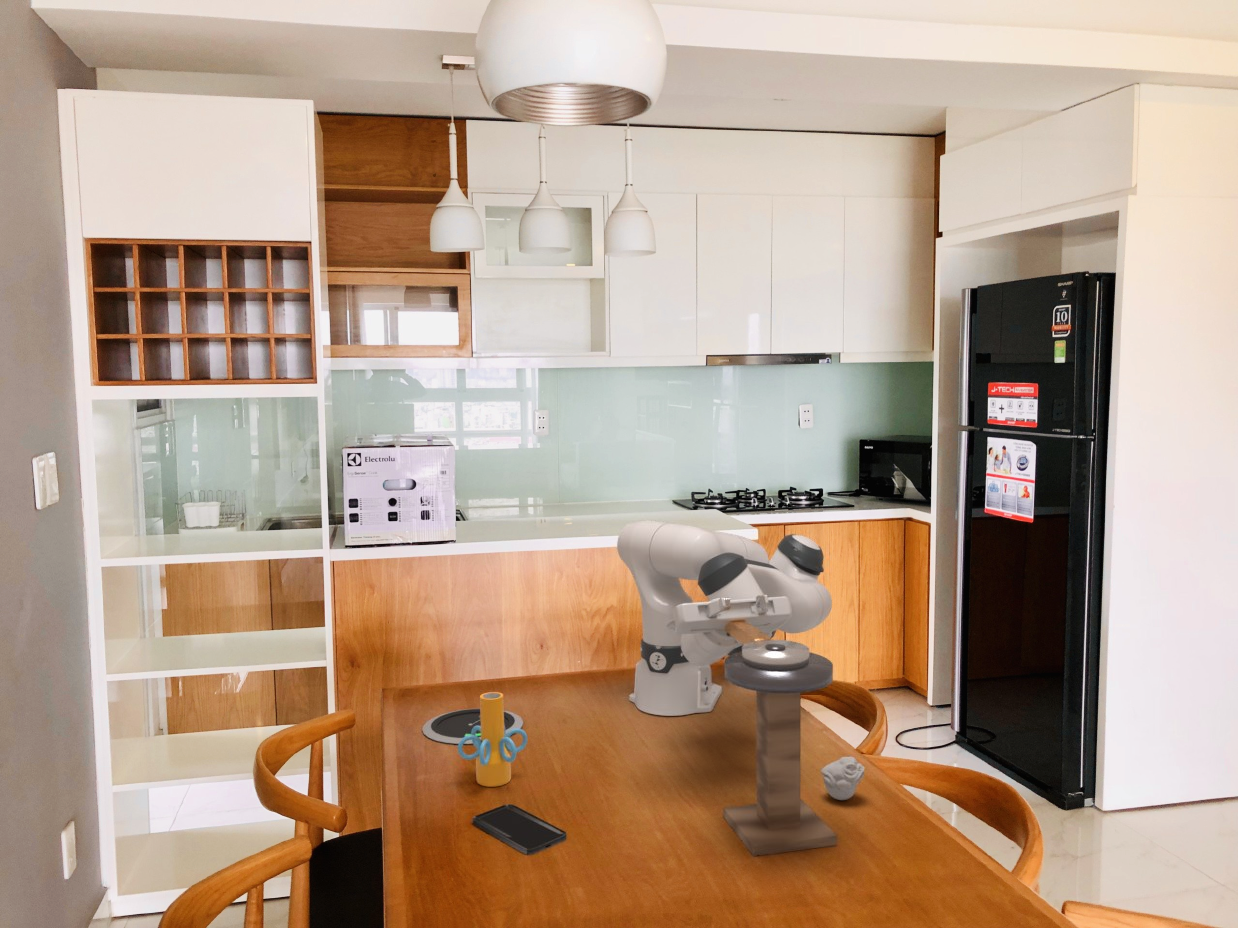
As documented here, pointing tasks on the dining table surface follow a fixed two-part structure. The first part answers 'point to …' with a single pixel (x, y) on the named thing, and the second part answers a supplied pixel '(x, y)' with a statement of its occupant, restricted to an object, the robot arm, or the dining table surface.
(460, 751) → the cylinder
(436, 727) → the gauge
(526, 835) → the phone
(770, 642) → the cover
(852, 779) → the frog figurine
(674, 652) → the robot arm
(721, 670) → the dining table surface
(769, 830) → the pedestal
